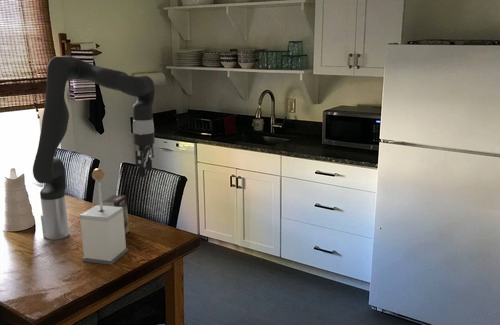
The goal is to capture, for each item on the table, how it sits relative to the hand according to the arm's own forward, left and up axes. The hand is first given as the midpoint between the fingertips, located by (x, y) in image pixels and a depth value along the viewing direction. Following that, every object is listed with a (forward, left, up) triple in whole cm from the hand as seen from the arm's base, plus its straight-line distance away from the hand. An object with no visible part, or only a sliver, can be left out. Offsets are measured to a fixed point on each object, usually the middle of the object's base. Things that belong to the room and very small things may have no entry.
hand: (145, 173), depth 177 cm
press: (-13, -10, -30) cm, 34 cm away
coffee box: (-19, +8, -30) cm, 37 cm away
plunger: (-13, -11, -16) cm, 24 cm away
